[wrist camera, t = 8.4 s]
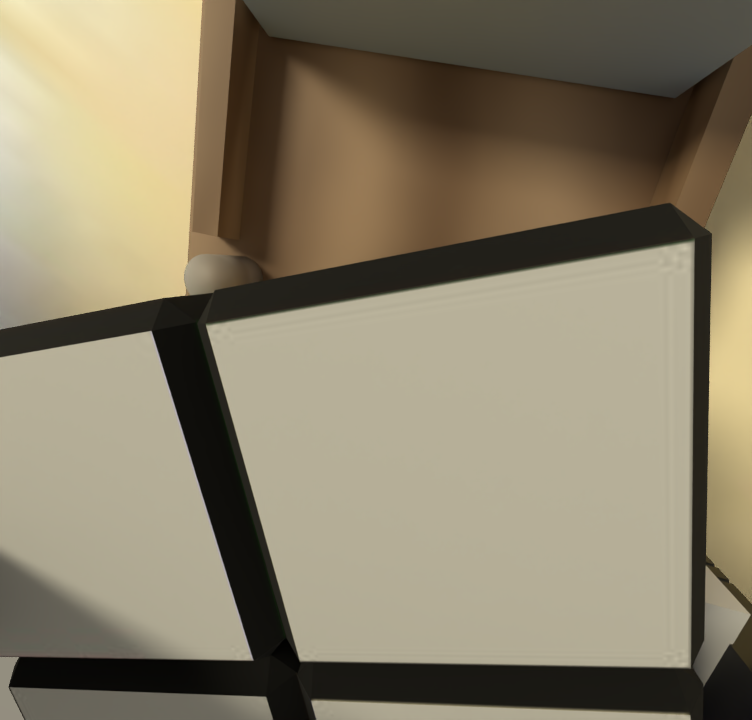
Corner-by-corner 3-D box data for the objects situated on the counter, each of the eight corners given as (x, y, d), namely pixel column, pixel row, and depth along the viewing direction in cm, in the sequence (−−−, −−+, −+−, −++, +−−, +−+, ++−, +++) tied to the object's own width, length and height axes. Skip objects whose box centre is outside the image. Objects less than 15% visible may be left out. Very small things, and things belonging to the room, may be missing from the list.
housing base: (189, 490, 20) (127, 546, 16) (227, -64, 14) (140, -202, 10) (523, 584, 18) (548, 673, 14) (748, 2, 12) (908, -133, 8)
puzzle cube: (530, 509, 15) (718, 982, 5) (292, 523, 16) (92, 886, 7) (504, 246, 12) (744, 181, 3) (233, 298, 14) (-180, 363, 5)
